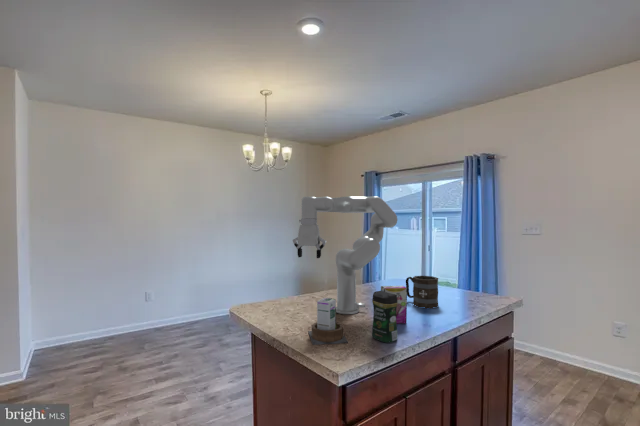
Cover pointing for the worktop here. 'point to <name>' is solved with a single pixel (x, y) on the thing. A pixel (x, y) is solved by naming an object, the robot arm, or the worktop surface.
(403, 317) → the candy bar box
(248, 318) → the worktop surface
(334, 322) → the syrup box
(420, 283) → the mug
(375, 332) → the coffee jar
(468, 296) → the worktop surface
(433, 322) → the worktop surface
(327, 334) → the collar
